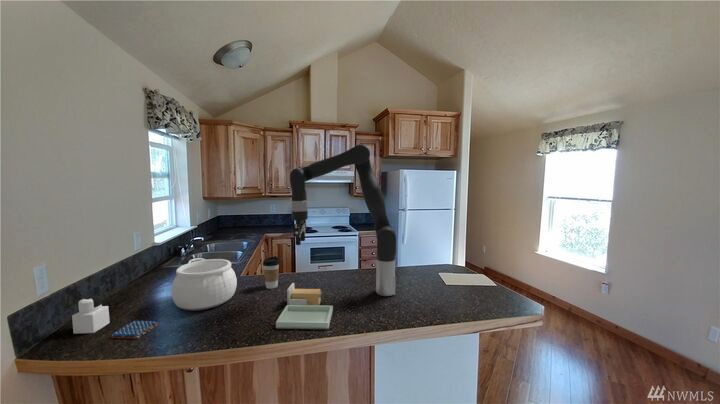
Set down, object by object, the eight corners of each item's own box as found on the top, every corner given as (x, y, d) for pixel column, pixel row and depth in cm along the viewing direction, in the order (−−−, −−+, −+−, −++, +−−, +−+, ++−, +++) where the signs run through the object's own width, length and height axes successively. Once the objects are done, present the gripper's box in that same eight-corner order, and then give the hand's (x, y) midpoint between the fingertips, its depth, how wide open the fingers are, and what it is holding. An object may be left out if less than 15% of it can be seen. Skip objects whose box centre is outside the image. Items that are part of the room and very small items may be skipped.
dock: (310, 299, 127) (310, 283, 126) (306, 307, 118) (306, 290, 118) (292, 299, 127) (292, 282, 126) (287, 307, 119) (287, 289, 118)
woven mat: (160, 324, 105) (160, 319, 105) (137, 340, 95) (137, 335, 95) (135, 324, 106) (134, 319, 106) (109, 340, 95) (108, 334, 95)
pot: (247, 300, 126) (246, 264, 124) (182, 322, 106) (180, 280, 105) (224, 284, 145) (222, 253, 144) (165, 300, 126) (163, 264, 125)
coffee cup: (283, 284, 144) (282, 257, 143) (272, 290, 137) (271, 262, 135) (271, 282, 148) (270, 255, 147) (259, 288, 140) (259, 260, 139)
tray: (332, 311, 115) (332, 305, 115) (328, 329, 101) (328, 322, 101) (286, 310, 116) (286, 305, 116) (275, 328, 102) (275, 322, 102)
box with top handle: (322, 301, 125) (322, 289, 124) (320, 306, 120) (320, 293, 119) (295, 301, 125) (294, 288, 125) (292, 306, 120) (291, 293, 120)
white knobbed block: (90, 323, 105) (88, 294, 104) (110, 323, 106) (108, 293, 105) (72, 334, 98) (70, 302, 97) (93, 333, 99) (91, 301, 98)
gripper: (303, 211, 122) (304, 246, 124) (310, 208, 137) (311, 239, 138) (287, 211, 123) (288, 246, 124) (296, 208, 137) (297, 239, 138)
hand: (300, 242), depth 131 cm, fingers open, 8 cm apart
